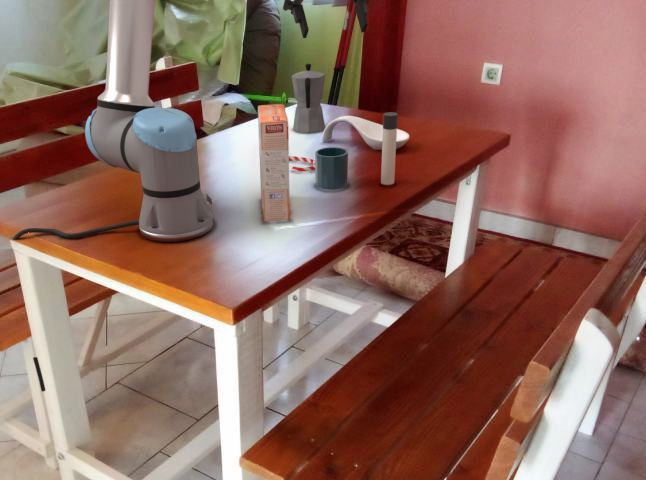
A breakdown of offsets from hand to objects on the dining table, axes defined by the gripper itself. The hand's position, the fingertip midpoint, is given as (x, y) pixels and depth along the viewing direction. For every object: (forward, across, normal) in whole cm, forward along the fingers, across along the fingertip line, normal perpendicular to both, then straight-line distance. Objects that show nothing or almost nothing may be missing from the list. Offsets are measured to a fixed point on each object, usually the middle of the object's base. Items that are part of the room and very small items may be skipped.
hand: (335, 31), depth 157 cm
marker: (+32, +8, +13) cm, 35 cm away
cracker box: (+36, -20, +9) cm, 42 cm away
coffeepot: (-4, +5, +49) cm, 49 cm away
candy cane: (+17, -8, +28) cm, 34 cm away
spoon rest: (+11, +14, +34) cm, 38 cm away
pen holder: (+29, -4, +16) cm, 33 cm away
